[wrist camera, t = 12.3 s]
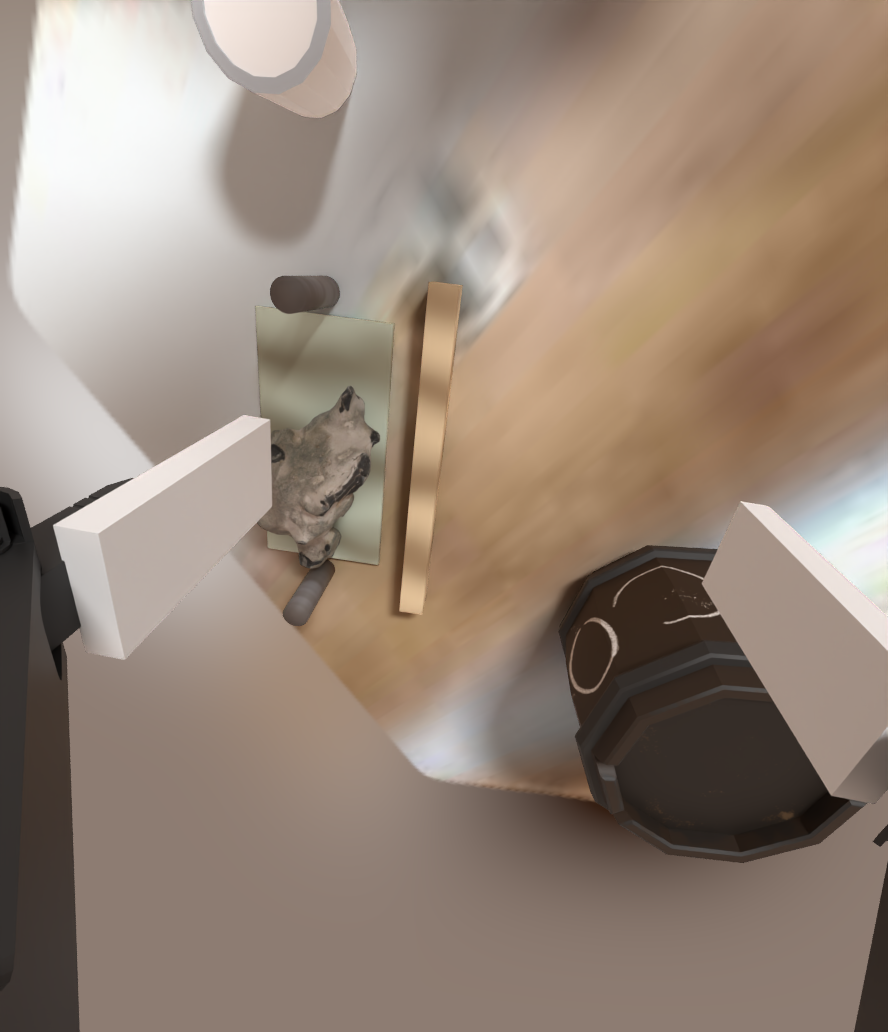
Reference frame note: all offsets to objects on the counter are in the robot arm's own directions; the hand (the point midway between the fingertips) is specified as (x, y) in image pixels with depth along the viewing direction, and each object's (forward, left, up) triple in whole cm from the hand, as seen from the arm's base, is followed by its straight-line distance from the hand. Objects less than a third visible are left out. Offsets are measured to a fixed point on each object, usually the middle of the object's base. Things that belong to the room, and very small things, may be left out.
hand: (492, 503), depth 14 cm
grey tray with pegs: (+8, -10, -24) cm, 28 cm away
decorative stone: (+10, -13, -24) cm, 29 cm away
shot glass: (-16, -14, -25) cm, 32 cm away
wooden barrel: (+20, +17, -25) cm, 36 cm away
